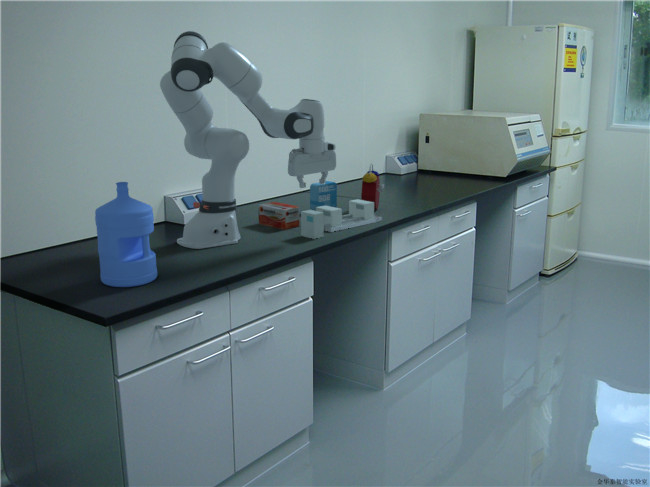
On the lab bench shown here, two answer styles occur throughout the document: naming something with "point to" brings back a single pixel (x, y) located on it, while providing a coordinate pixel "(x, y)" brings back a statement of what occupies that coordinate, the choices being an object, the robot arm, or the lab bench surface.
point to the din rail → (351, 222)
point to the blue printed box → (323, 195)
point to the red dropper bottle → (371, 187)
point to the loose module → (312, 224)
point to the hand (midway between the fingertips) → (312, 185)
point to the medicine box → (279, 215)
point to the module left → (331, 215)
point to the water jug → (125, 241)
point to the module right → (361, 209)
